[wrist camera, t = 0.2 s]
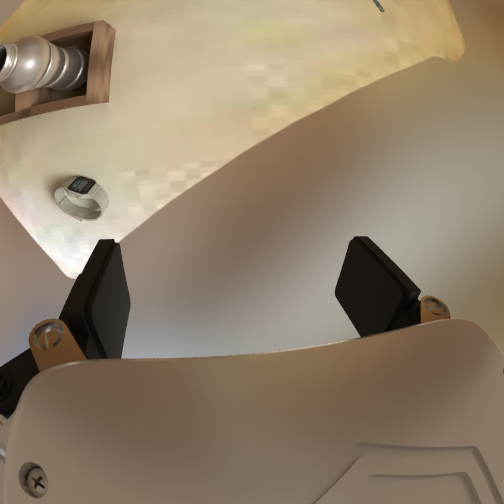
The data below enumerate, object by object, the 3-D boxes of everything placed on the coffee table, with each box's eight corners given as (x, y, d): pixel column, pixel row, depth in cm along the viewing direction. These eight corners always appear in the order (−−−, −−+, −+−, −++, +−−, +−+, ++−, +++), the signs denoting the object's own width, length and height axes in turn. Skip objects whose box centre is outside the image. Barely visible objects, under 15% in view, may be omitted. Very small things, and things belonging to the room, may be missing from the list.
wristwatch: (114, 184, 37) (105, 195, 33) (106, 220, 39) (97, 235, 35) (64, 170, 33) (50, 180, 29) (59, 206, 36) (46, 219, 32)
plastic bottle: (92, 90, 29) (12, 92, 12) (54, 92, 27) (-34, 102, 10) (101, 49, 26) (30, 20, 9) (62, 52, 24) (-21, 37, 7)
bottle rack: (-4, 65, 19) (-24, 65, 14) (115, 30, 24) (103, 20, 19) (-7, 127, 25) (-27, 134, 20) (108, 102, 30) (94, 102, 25)
